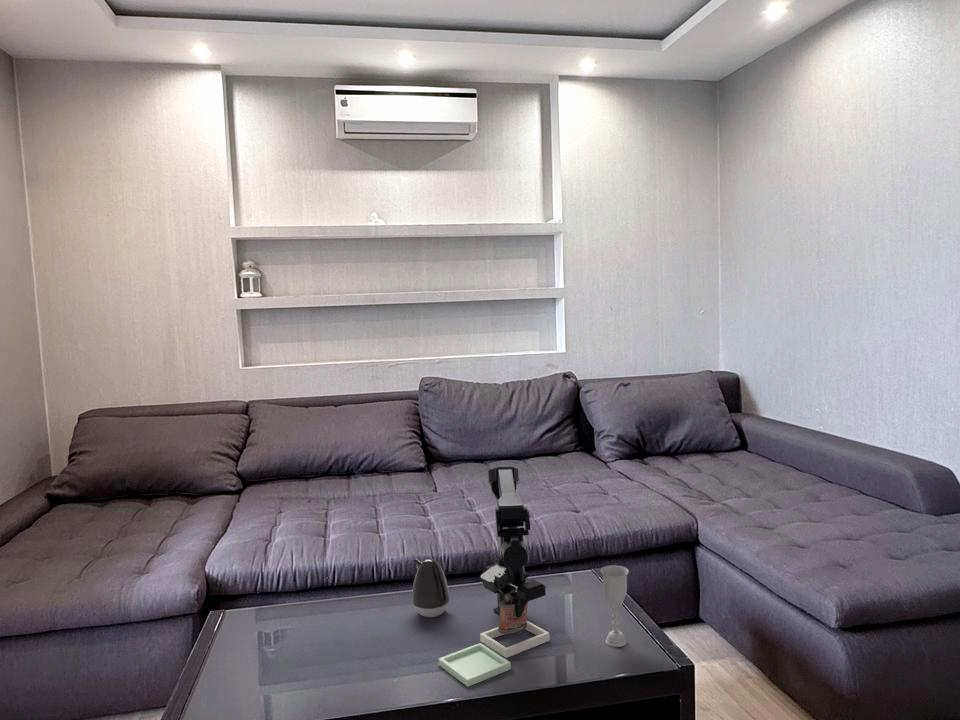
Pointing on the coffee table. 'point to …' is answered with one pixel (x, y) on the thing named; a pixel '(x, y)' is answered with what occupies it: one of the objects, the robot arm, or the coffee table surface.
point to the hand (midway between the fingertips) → (514, 614)
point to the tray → (474, 664)
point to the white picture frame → (540, 638)
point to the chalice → (615, 598)
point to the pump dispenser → (430, 589)
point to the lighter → (511, 616)
